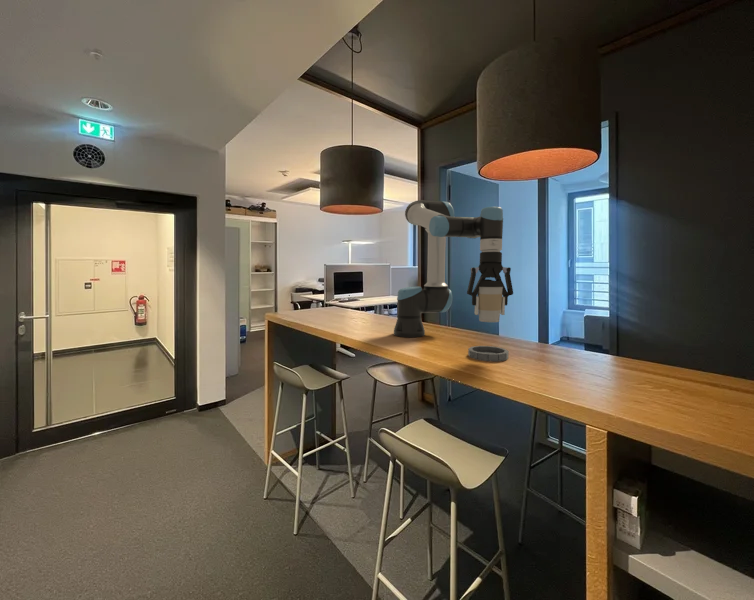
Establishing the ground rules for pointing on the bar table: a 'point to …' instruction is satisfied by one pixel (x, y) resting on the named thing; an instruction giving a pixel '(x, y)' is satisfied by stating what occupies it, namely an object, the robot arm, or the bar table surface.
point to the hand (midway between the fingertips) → (489, 314)
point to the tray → (488, 353)
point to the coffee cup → (490, 300)
